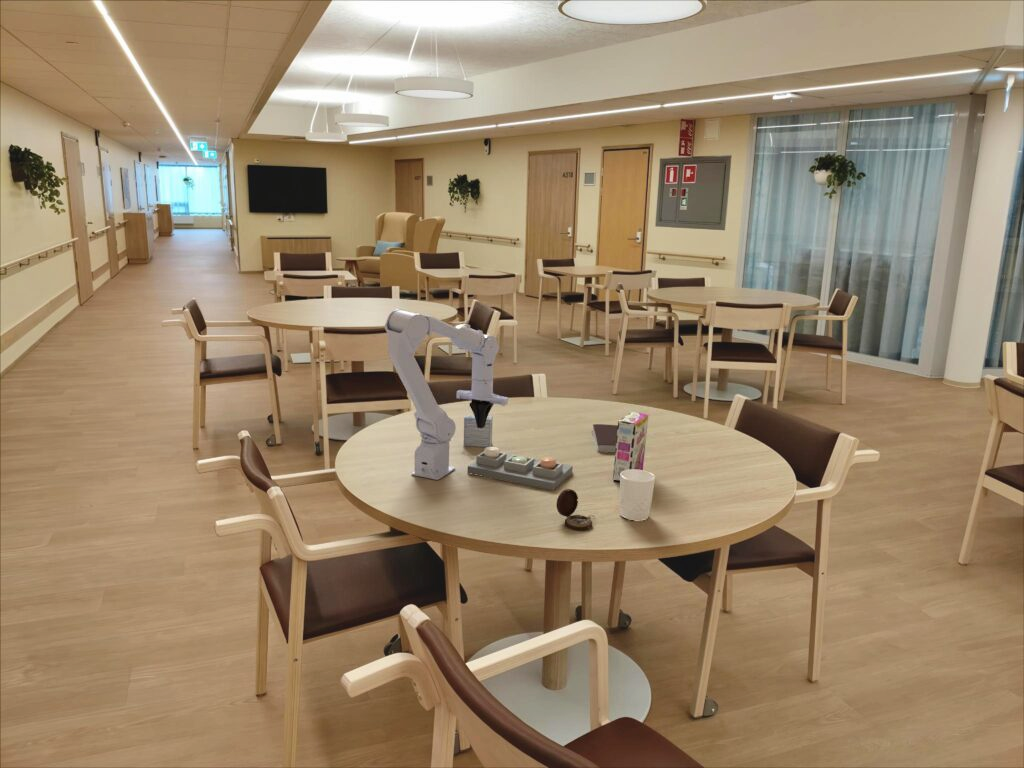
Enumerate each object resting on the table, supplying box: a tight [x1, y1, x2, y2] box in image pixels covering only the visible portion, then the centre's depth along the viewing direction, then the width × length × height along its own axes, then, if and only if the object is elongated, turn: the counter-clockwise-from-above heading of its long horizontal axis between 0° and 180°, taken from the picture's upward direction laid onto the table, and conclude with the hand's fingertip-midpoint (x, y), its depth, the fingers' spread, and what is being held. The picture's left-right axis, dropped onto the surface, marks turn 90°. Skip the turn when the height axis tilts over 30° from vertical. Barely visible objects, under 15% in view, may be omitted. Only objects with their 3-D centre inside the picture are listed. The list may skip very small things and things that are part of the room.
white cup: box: [619, 469, 656, 520], centre depth 172 cm, size 8×8×10 cm
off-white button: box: [483, 446, 500, 459], centre depth 198 cm, size 4×4×2 cm
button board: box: [467, 451, 574, 491], centre depth 197 cm, size 14×24×4 cm, turn 66°
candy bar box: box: [612, 411, 649, 481], centre depth 196 cm, size 11×5×16 cm, turn 152°
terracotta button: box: [539, 456, 557, 470], centre depth 192 cm, size 4×4×2 cm
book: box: [591, 423, 618, 453], centre depth 225 cm, size 12×19×3 cm, turn 178°
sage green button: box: [512, 456, 527, 464], centre depth 196 cm, size 4×4×2 cm
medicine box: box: [463, 413, 493, 448], centre depth 217 cm, size 8×4×9 cm, turn 84°
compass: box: [556, 488, 596, 531], centre depth 168 cm, size 8×8×7 cm
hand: (481, 427), depth 204 cm, fingers closed
